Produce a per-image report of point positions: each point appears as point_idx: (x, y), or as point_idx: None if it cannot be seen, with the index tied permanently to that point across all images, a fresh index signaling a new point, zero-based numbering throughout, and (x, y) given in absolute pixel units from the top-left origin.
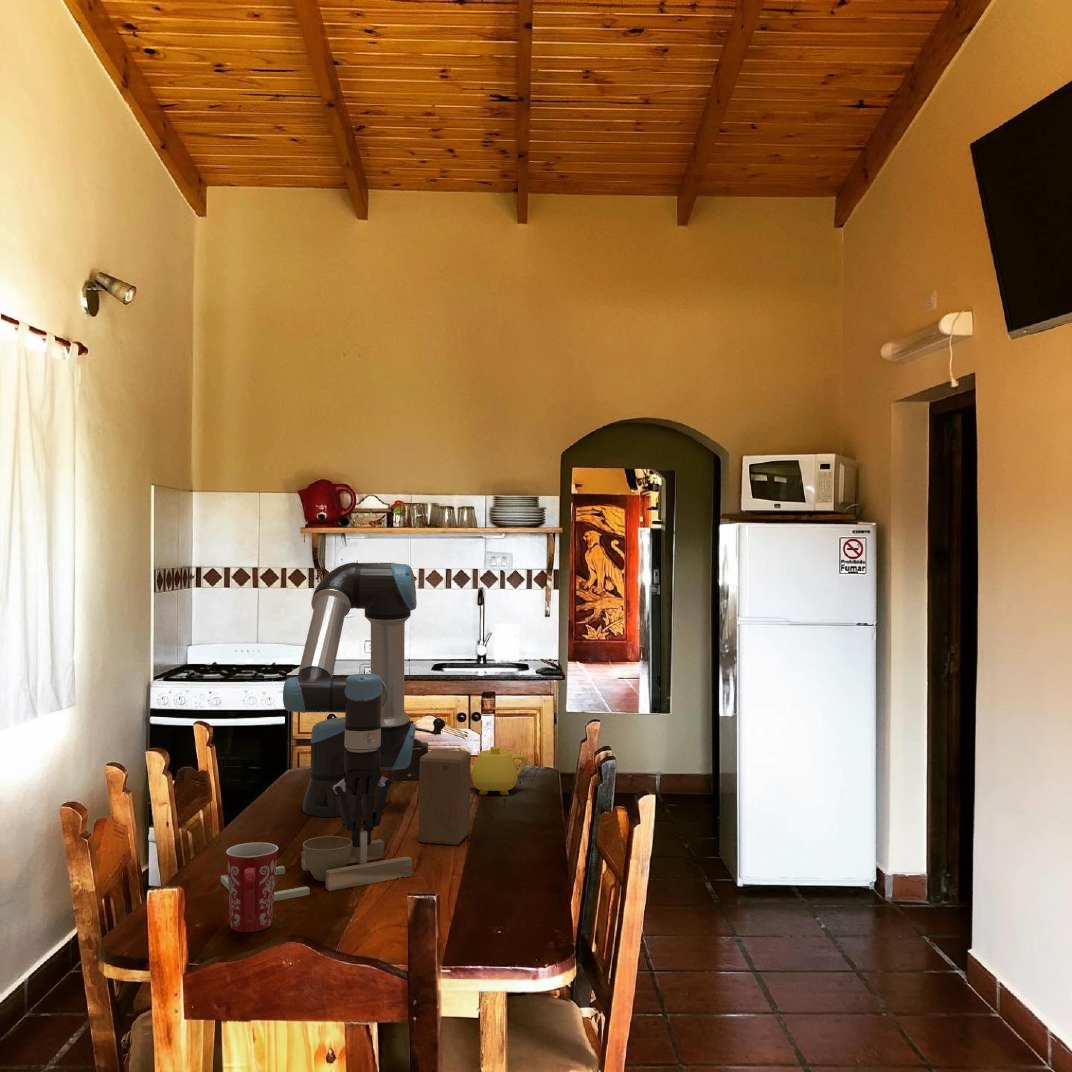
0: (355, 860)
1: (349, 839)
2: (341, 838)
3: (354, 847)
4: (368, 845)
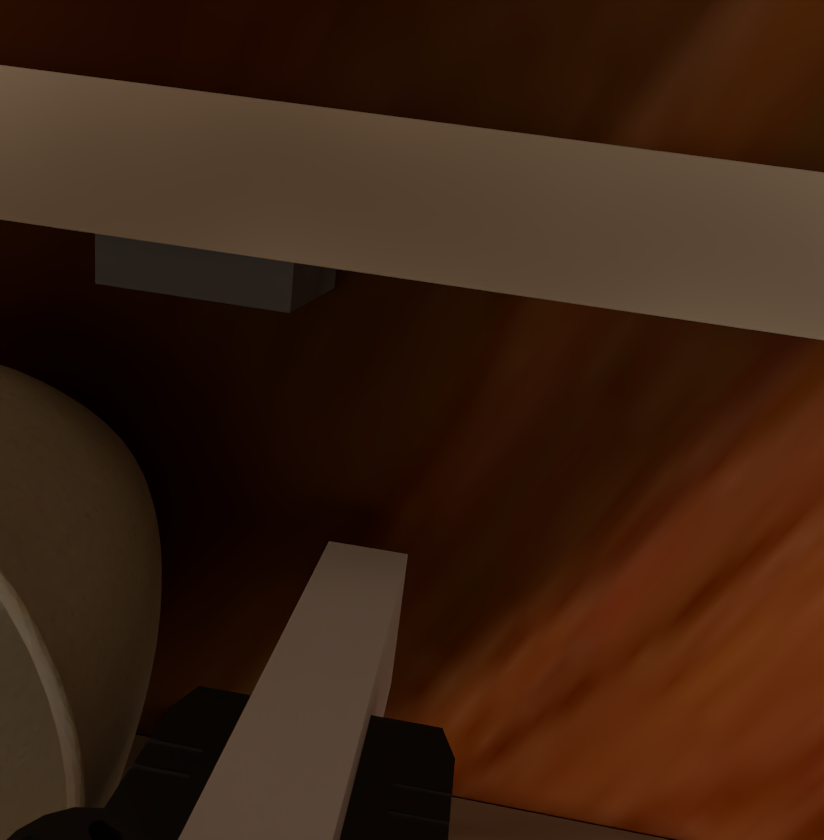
0: (326, 548)
1: (68, 794)
2: (12, 590)
3: (471, 288)
4: (710, 320)
